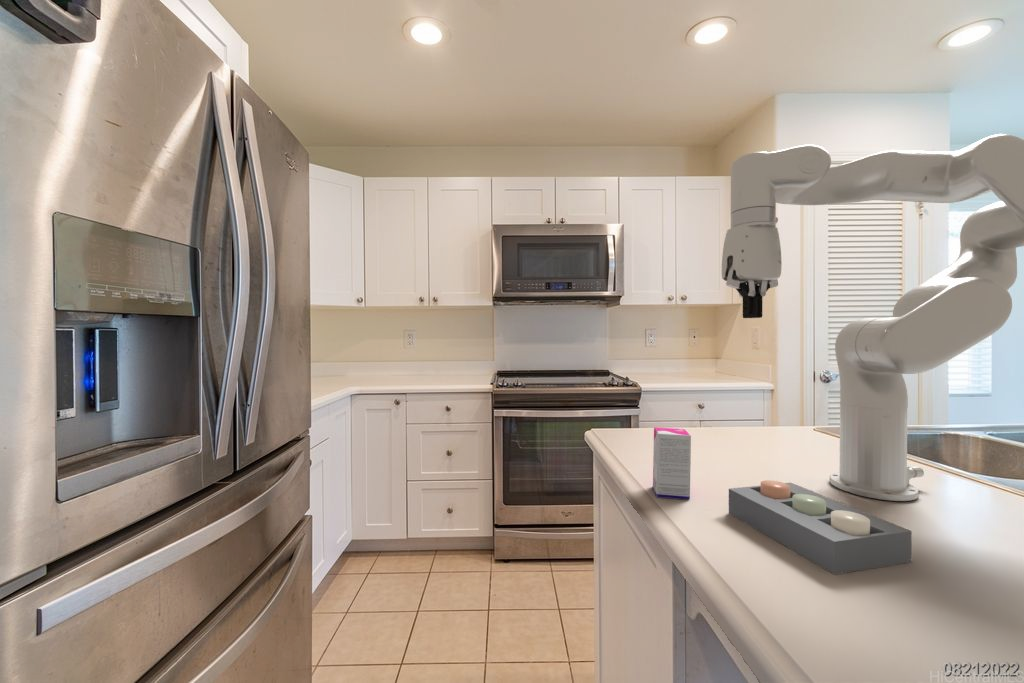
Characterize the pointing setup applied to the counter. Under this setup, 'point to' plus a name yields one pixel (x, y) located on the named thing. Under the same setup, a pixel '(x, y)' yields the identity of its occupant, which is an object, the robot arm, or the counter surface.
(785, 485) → the terracotta button
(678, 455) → the supplement box
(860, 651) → the counter surface
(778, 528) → the tray
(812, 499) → the sage button
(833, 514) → the cream button
